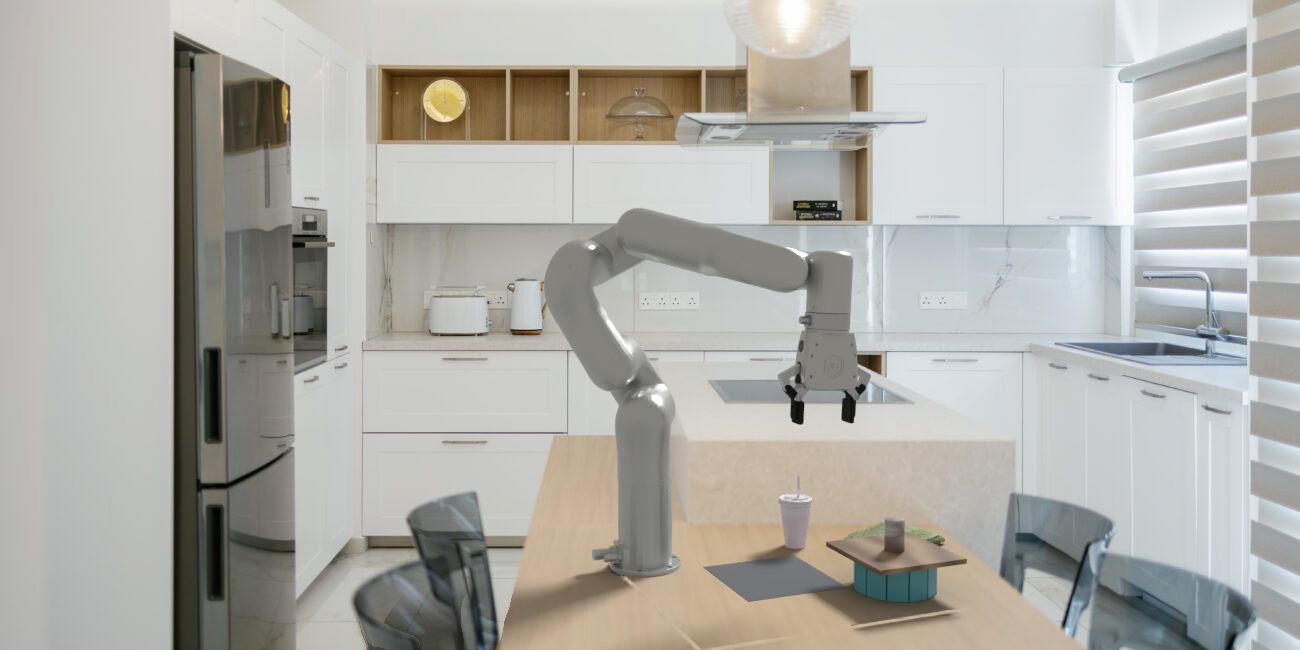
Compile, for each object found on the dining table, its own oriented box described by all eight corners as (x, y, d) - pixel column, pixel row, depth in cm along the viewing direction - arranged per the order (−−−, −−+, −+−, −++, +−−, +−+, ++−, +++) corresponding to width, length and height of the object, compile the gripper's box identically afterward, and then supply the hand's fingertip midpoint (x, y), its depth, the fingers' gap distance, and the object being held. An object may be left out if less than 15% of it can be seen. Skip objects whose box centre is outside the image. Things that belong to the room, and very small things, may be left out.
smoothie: (812, 554, 174) (812, 479, 173) (777, 552, 175) (777, 478, 174) (813, 544, 180) (813, 471, 179) (779, 542, 182) (779, 470, 181)
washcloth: (948, 545, 181) (948, 528, 180) (897, 566, 169) (897, 548, 168) (889, 531, 190) (889, 515, 190) (836, 550, 178) (836, 533, 178)
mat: (748, 604, 149) (748, 601, 149) (703, 569, 166) (703, 567, 166) (847, 590, 155) (847, 587, 155) (794, 557, 172) (794, 555, 172)
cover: (880, 575, 144) (880, 538, 144) (826, 546, 159) (826, 512, 159) (966, 563, 150) (967, 527, 149) (906, 536, 165) (906, 503, 164)
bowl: (883, 609, 147) (883, 571, 146) (838, 582, 159) (839, 547, 158) (952, 598, 151) (953, 561, 151) (904, 573, 163) (904, 539, 163)
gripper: (791, 324, 155) (787, 428, 156) (883, 325, 160) (878, 425, 161) (771, 321, 162) (767, 420, 163) (860, 322, 167) (855, 417, 168)
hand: (822, 422), depth 162 cm, fingers open, 9 cm apart
